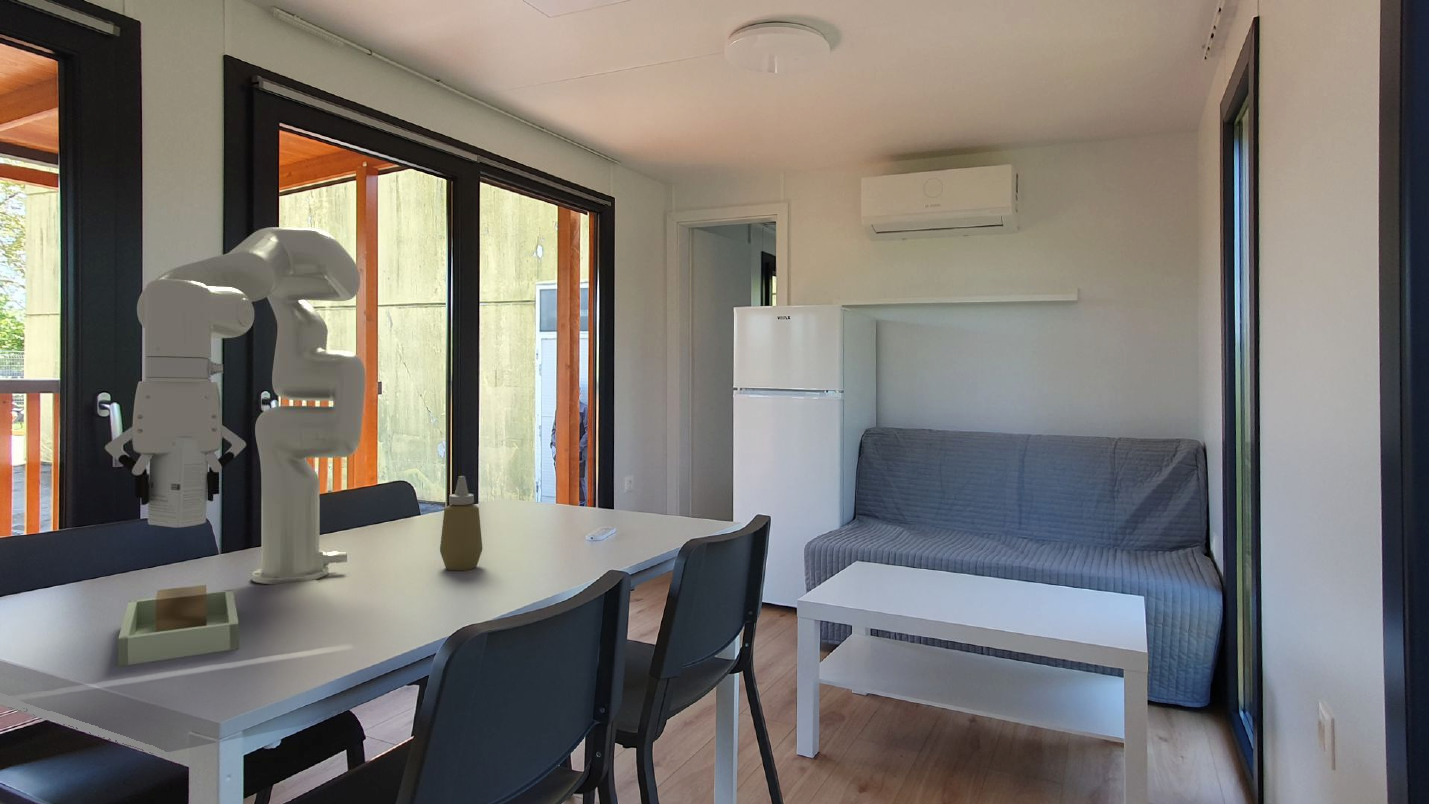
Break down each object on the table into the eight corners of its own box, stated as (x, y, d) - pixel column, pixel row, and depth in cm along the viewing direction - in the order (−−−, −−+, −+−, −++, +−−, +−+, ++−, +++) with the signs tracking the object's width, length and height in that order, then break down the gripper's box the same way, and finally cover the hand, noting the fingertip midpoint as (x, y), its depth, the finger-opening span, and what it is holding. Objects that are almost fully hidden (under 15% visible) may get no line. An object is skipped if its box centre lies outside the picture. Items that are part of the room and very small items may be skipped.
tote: (232, 615, 124) (232, 589, 124) (238, 652, 108) (238, 623, 107) (129, 628, 117) (129, 600, 117) (118, 670, 100) (118, 639, 100)
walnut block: (206, 617, 121) (206, 584, 121) (206, 628, 116) (206, 594, 116) (157, 623, 117) (157, 590, 117) (156, 635, 112) (155, 599, 112)
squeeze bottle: (465, 561, 163) (466, 473, 162) (491, 567, 158) (491, 476, 158) (430, 568, 156) (431, 476, 156) (456, 574, 152) (457, 480, 151)
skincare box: (145, 525, 108) (145, 436, 108) (177, 520, 113) (177, 434, 112) (179, 528, 106) (179, 437, 106) (210, 523, 111) (210, 435, 110)
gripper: (250, 373, 117) (250, 494, 117) (101, 370, 108) (101, 502, 108) (253, 372, 111) (252, 501, 111) (95, 369, 101) (95, 510, 102)
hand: (178, 500), depth 109 cm, fingers closed on skincare box, 6 cm apart
